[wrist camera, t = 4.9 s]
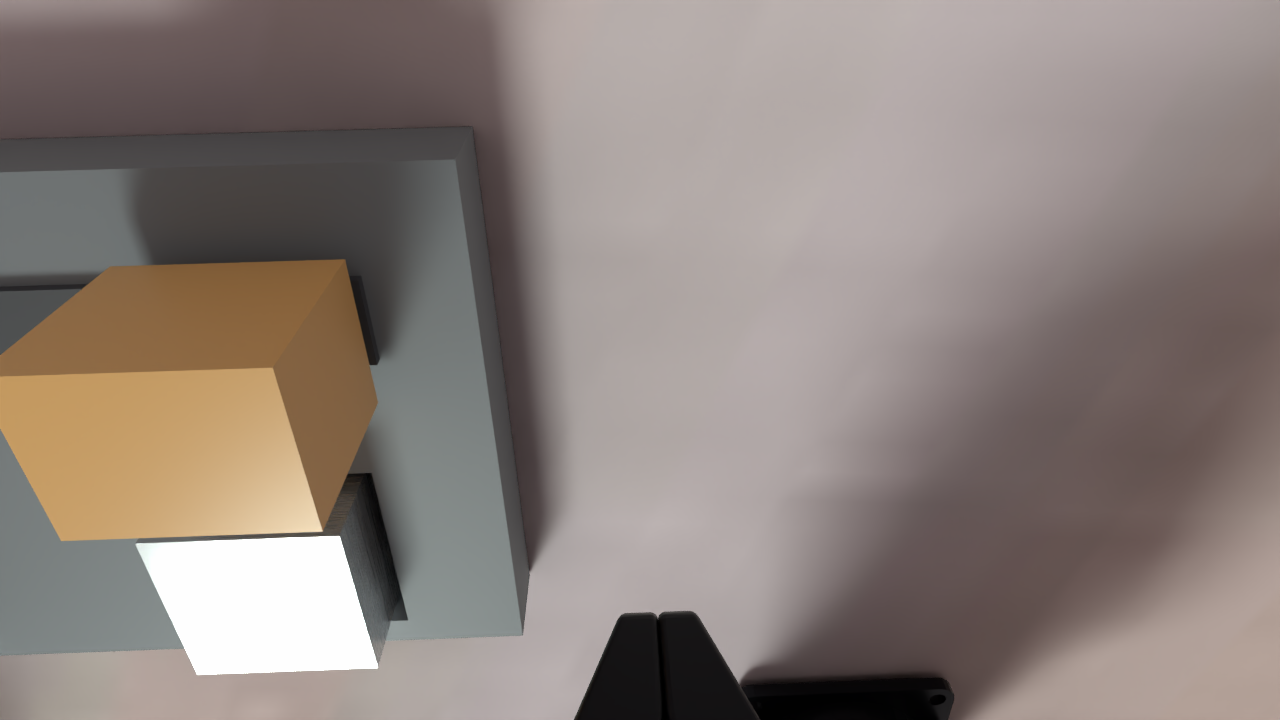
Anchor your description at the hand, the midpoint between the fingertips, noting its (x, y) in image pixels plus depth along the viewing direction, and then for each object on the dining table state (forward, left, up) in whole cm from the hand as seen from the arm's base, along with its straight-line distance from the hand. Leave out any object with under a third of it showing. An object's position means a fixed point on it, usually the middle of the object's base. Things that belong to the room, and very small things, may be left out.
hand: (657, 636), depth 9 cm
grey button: (+8, +6, -9) cm, 13 cm away
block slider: (+7, 0, -7) cm, 10 cm away
